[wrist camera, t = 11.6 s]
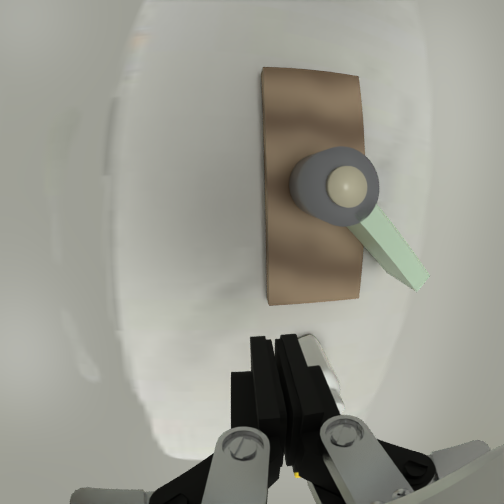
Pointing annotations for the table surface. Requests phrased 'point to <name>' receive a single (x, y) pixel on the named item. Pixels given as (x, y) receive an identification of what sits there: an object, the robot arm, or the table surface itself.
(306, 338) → the eye dropper bottle
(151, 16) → the table surface
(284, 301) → the post base
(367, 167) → the grey and green piece
